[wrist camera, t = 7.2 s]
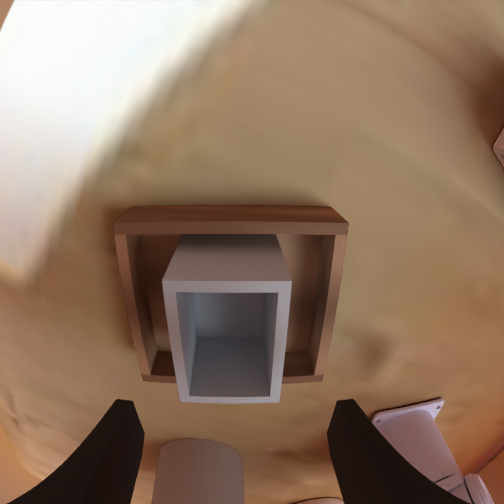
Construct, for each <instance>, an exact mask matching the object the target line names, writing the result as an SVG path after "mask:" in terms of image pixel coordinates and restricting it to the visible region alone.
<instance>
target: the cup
mask: <svg viewBox="0 0 504 504" xmlns="http://www.w3.org/2000/svg"><path fill="white" fill-rule="evenodd" d="M151 504H244V480H243V461H242V458H241V456H240V453H239V452H237V451H236V450H234V449H233V448H231V447H230V446H228V445H225V444H222V443H218V442H215V441H211V440H204V439H191V438H187V439H181V440H175V441H170V442H169V443H167V444H166V445H164V446H162V447H161V449H160V454H159V459H158V465H157V471H156V477H155V484H154V490H153V497H152V503H151Z"/></svg>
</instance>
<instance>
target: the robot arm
mask: <svg viewBox="0 0 504 504" xmlns="http://www.w3.org/2000/svg"><path fill="white" fill-rule="evenodd" d="M443 404H444V400H443V399H442V398H441V399H437V400H433V401H429V402H425V403H420V404H416V405H412V406H407V407H402V408H397V409H392V410H387V411H382V412H378V413H376V414H375V415H374V417H373V419H372V421H370V419H369V418H368V417H367V416H366V414H365V413H364V412H363V410H362V409H361V408H360V407H359V405H358V404H357V403H356V401H355V400H354V399H348V400H339V401H337V402H336V406H335V409H334V412H333V416H332V419H331V422H330V425H329V428H328V431H327V437H328V443H329V450H330V456H331V460H332V463H333V467H334V470H335V473H336V477H337V480H338V484H339V487H340V490H341V494H342V497H343V500H344V504H494V502H493V500H492V498H491V496H490V494H489V492H488V490H487V489H486V486H485V485H484V483H483V481H482V480H481V478H480V477H479V475H477V474H472V473H470V474H468V475H467V476H464V475H462V473H461V471H460V469H459V467H458V465H457V463H456V461H455V459H454V457H453V455H452V453H451V451H450V449H449V447H448V446H447V444H446V442H445V440H444V438H443V436H442V434H441V432H440V430H439V428H438V427H437V425H436V423H435V421H434V419H435V418H436V416H437V414H438V413H439V411H440V409H441V407H442V406H443ZM144 434H145V433H144V431H143V428H142V425H141V423H140V420H139V417H138V415H137V412H136V409H135V406H134V403H133V401H129V400H120V399H117V400H116V401H115V402H114V403H113V404H112V406H111V407H110V408H109V410H108V411H107V412H106V414H105V415H104V416H103V418H102V419H101V420H100V422H99V423H98V424H97V425H96V427H95V428H94V429H93V430H92V432H91V433H90V434H89V435H88V436H87V438H86V439H85V440H84V441H83V442H82V444H81V445H80V446H79V447H78V448H77V449H76V450H75V451H74V452H73V453H72V454H71V456H70V457H69V458H68V459H67V460H66V461H65V462H64V463H63V464H62V465H61V466H59V467H58V468H57V469H56V470H55V471H54V472H53V473H52V474H51V475H49V476H48V477H47V478H46V479H44V480H43V481H42V482H40V483H39V484H38V485H37V486H35V487H34V488H32V489H31V490H29V491H28V492H26V493H25V494H23V495H21V496H20V497H18V498H16V499H15V500H13V501H11V502H9V503H7V504H130V503H131V498H132V494H133V490H134V486H135V482H136V478H137V474H138V470H139V466H140V462H141V458H142V451H143V442H144Z"/></svg>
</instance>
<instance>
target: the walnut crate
mask: <svg viewBox="0 0 504 504" xmlns="http://www.w3.org/2000/svg"><path fill="white" fill-rule="evenodd" d="M348 225H349V223H348V222H347V221H346V220H345V219H344V218H343V217H342V216H341V215H340V214H338V213H337V212H336V211H335V210H334V209H333V208H332V207H310V206H254V205H202V206H147V207H131V208H130V209H129V210H127V211H126V212H125V213H124V214H123V215H121V216H120V217H119V218H118V219H117V220H116V221H115V222H113V228H114V236H115V244H116V251H117V258H118V265H119V271H120V277H121V283H122V289H123V294H124V300H125V305H126V310H127V315H128V320H129V325H130V329H131V334H132V338H133V343H134V347H135V351H136V355H137V359H138V363H139V367H140V371H141V375H142V379H143V381H150V382H163V383H177V381H176V375H175V369H174V363H173V357H172V351H171V345H170V338H169V331H168V324H167V317H166V310H165V302H164V294H163V285H162V279H163V277H164V275H165V273H166V270H167V268H168V266H169V264H170V261H171V259H172V257H173V255H174V253H175V251H176V248H177V246H178V244H179V242H180V240H181V238H182V236H183V234H276V235H277V238H278V241H279V244H280V247H281V250H282V253H283V256H284V259H285V262H286V265H287V268H288V271H289V274H290V277H291V280H292V286H291V298H290V309H289V319H288V329H287V339H286V349H285V358H284V367H283V376H282V384H287V383H304V382H318V381H322V380H323V375H324V371H325V366H326V361H327V356H328V352H329V347H330V341H331V336H332V331H333V326H334V320H335V314H336V309H337V303H338V297H339V291H340V284H341V278H342V271H343V264H344V257H345V249H346V241H347V233H348Z"/></svg>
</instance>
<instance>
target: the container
mask: <svg viewBox="0 0 504 504" xmlns="http://www.w3.org/2000/svg"><path fill="white" fill-rule="evenodd" d="M493 150H494V153H495V154H496V156H497V157H498V159H499V160H500V162H501V163H502V165H503V167H504V128H503V130H502V132H501V133H500V135H499V137H498V139H497V140H496V142H495V144H494V146H493Z"/></svg>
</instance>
